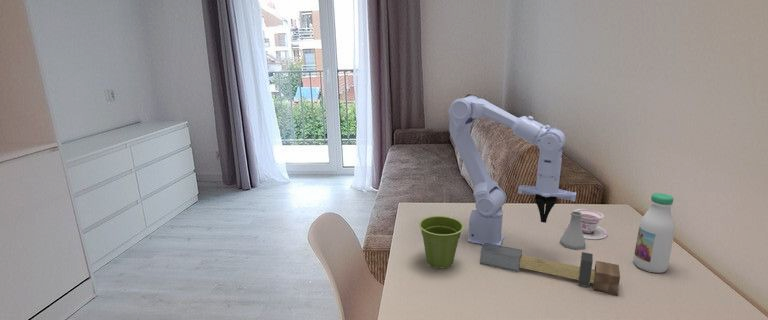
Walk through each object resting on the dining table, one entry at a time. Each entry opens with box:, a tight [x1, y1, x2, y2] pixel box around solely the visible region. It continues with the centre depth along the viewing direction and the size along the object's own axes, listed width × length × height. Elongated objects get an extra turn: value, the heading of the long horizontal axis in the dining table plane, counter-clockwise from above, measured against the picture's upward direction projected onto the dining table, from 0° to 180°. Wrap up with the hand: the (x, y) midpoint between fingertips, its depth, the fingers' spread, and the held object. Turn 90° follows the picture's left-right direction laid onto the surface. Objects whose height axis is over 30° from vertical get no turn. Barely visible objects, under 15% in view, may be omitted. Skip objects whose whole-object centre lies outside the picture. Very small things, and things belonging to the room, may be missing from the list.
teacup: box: [565, 208, 608, 241], centre depth 129 cm, size 12×12×6 cm
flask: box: [559, 210, 586, 250], centre depth 120 cm, size 7×7×10 cm
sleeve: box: [479, 243, 523, 273], centre depth 110 cm, size 10×4×4 cm, turn 64°
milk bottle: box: [632, 192, 676, 274], centre depth 107 cm, size 8×8×20 cm
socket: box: [592, 260, 621, 297], centre depth 100 cm, size 5×6×5 cm
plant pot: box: [418, 215, 465, 269], centre depth 110 cm, size 12×12×11 cm
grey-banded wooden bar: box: [519, 251, 595, 287], centre depth 104 cm, size 20×4×7 cm, turn 64°
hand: (543, 221), depth 114 cm, fingers closed
